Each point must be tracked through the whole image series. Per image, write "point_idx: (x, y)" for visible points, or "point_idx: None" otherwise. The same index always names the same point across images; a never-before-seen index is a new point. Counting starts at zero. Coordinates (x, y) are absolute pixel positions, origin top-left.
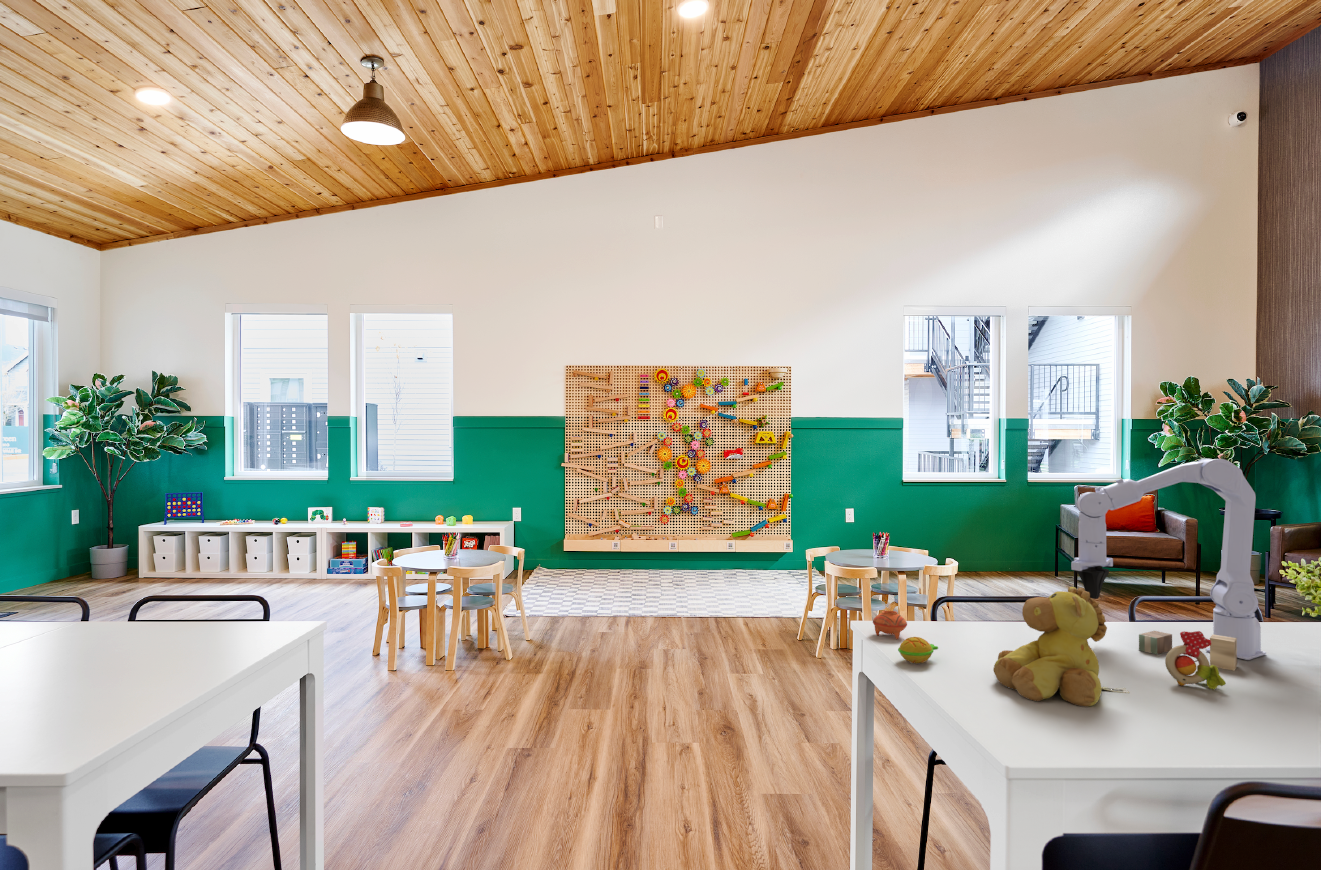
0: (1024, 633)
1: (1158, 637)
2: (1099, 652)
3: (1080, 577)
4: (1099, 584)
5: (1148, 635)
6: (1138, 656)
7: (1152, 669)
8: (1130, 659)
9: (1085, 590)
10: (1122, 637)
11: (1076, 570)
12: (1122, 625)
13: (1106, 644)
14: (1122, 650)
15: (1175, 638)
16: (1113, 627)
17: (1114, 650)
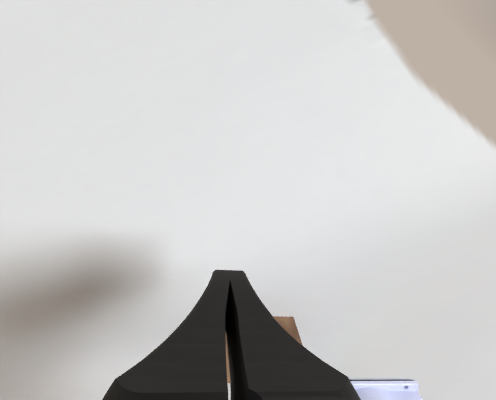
0: (83, 38)
1: (227, 381)
2: (101, 280)
3: (160, 345)
4: (231, 390)
5: (227, 363)
6: (158, 336)
7: (80, 386)
8: (113, 338)
9: (205, 290)
10: (320, 244)
11: (108, 391)
12: (479, 184)
13: (202, 255)
14: (178, 298)
15: (414, 311)
16: (431, 180)
17: (159, 289)
